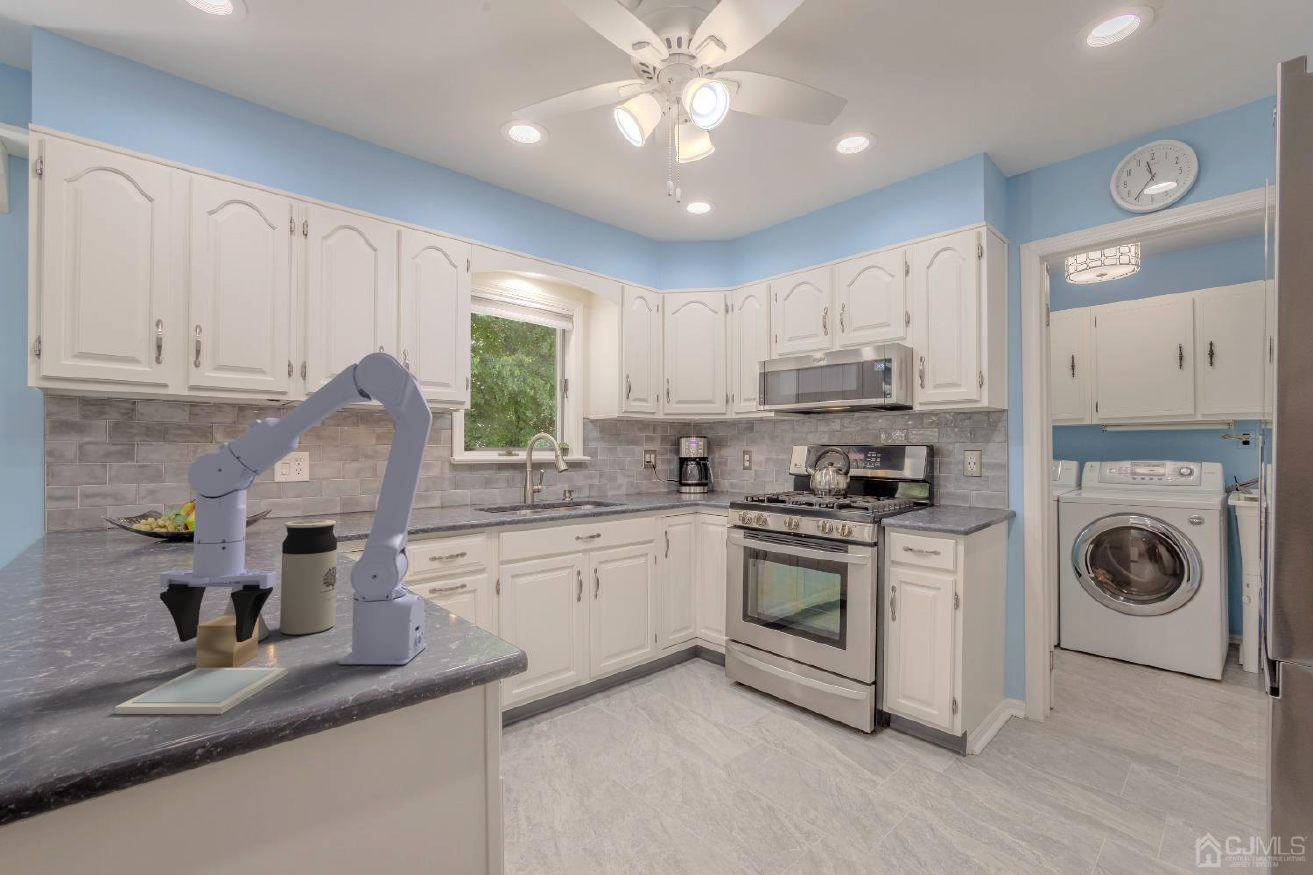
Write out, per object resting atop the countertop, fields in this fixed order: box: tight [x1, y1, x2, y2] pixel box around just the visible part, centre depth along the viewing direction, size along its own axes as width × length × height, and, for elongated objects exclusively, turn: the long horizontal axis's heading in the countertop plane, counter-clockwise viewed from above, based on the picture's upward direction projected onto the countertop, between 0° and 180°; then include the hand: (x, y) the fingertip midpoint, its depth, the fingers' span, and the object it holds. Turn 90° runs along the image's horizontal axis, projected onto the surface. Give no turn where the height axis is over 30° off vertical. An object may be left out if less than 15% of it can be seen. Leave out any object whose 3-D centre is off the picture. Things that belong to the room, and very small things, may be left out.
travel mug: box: [279, 519, 338, 636], centre depth 97 cm, size 8×8×18 cm
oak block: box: [195, 614, 259, 669], centre depth 81 cm, size 5×5×6 cm
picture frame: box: [114, 667, 289, 715], centre depth 71 cm, size 12×12×1 cm
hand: (216, 639), depth 79 cm, fingers open, 7 cm apart
